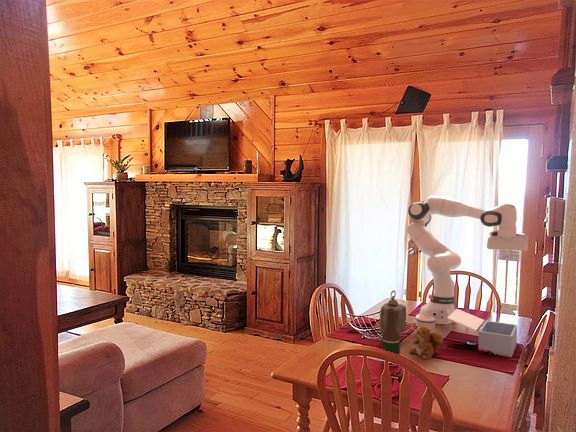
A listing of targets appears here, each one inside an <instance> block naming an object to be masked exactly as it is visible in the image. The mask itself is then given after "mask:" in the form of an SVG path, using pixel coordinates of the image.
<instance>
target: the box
mask: <svg viewBox="0 0 576 432" xmlns="http://www.w3.org/2000/svg"><path fill="white" fill-rule="evenodd" d="M517 342H518V324H515V323H514V324H513V323H505V322H500V321H499V322H498V321H490V320H486V321H485V322H484V324H483V325H482V326H481V328H480V329H479V331H478V344H477V345H478V348H477V350H478V349H484V350H489V351H491V352H492V353H494V354H493V355H496V354H497V355H496V356H503V357H508V358H512V356H513V354H514V351H515V349H516V347H517V345H518V343H517Z"/></svg>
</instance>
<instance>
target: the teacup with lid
mask: <svg viewBox="0 0 576 432" xmlns="http://www.w3.org/2000/svg"><path fill="white" fill-rule="evenodd" d="M415 323H416V324H417V328H415V327H414V326H413V325H414V324H415ZM421 326H424V327H426V328H428V329H429V330H432V332H431V333H434V332H435V333H436V323H435V318H433V317H431V316H429V315H428V314H427V313H425V314H424V315H423V316H420V317H418V318H417V319H416V320H413V321H412V322H411V324H410V327H411V329H412V330H413V331H415V332H417V331H418V330H419V329H420V327H421Z"/></svg>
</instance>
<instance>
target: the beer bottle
mask: <svg viewBox="0 0 576 432" xmlns="http://www.w3.org/2000/svg"><path fill="white" fill-rule="evenodd" d="M387 313H388V314H387V325H386V328H385V329H384V331H383V334H382V341H381V342H382V344H381V345H382V347H381V348H382V349H383V350H386V351H390V352H393V353H396V354H399V355H400V354H401V352H400V351H401V349H400V347H401V345H400V344H401V340H400V335H399V333H398V330H397V329H396V326H395V309H387ZM382 349H381V350H382ZM381 361H382V360H381ZM383 363H384V361H382V364H383ZM389 365H394V364H392V363H389Z"/></svg>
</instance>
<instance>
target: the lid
mask: <svg viewBox="0 0 576 432" xmlns="http://www.w3.org/2000/svg"><path fill="white" fill-rule="evenodd" d="M447 319H448V320H450V321H452V322H454V323H455V324H457V325H460V326H462V327H465V328H466V329H468V330H472V331H473V332H476V333H478V332H479V330H480V329H481V327H482V326H483V324H484V323H485V322H486V321H487V320H486V319H482V318H480V317H479V316H475V315H473V314H471V313H468V312H466V311H464V310H461V309H459V308H455V311H454V312H453V313H452V314H451V315H450V316H449V317H448V318H447Z"/></svg>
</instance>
